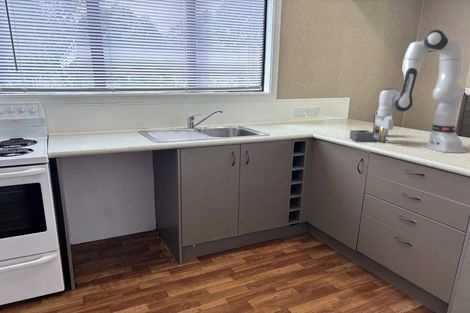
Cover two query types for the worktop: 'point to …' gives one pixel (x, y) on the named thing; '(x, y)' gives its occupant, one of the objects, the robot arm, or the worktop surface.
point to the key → (381, 136)
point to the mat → (378, 139)
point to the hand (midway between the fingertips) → (382, 134)
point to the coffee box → (377, 129)
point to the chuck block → (361, 135)
